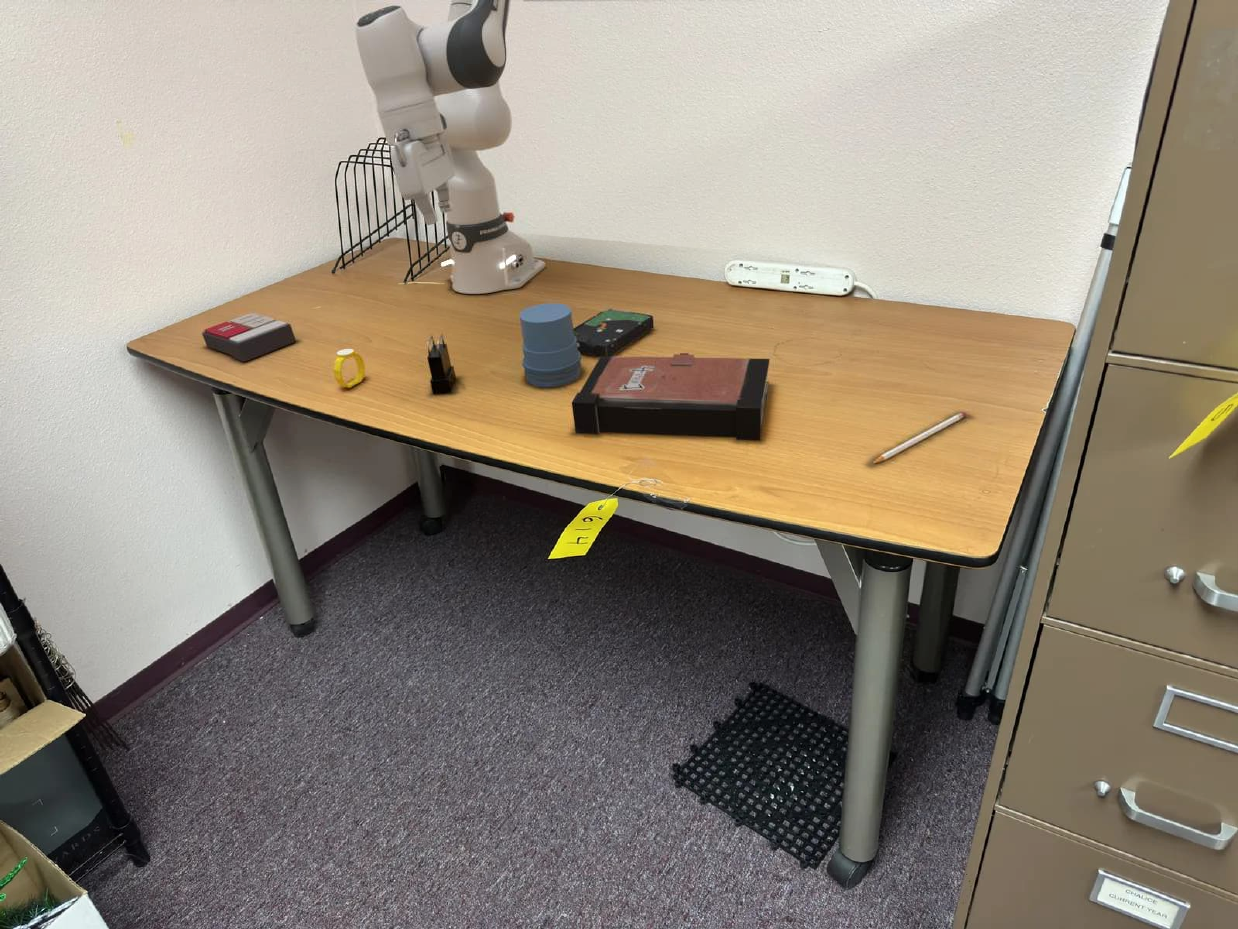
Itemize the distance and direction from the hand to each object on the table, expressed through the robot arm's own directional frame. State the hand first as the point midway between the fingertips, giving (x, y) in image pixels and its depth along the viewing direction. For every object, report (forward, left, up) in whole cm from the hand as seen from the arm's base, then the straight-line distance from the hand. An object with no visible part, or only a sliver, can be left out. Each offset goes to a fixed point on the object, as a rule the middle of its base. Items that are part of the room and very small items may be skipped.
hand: (440, 217), depth 132 cm
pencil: (+1, +78, -25) cm, 81 cm away
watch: (+16, -12, -25) cm, 32 cm away
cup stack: (+1, +19, -24) cm, 31 cm away
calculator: (+10, -46, -25) cm, 53 cm away
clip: (+11, +4, -24) cm, 27 cm away
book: (+4, +43, -25) cm, 50 cm away
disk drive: (-15, +20, -25) cm, 35 cm away
